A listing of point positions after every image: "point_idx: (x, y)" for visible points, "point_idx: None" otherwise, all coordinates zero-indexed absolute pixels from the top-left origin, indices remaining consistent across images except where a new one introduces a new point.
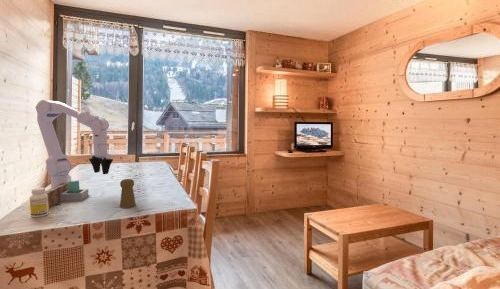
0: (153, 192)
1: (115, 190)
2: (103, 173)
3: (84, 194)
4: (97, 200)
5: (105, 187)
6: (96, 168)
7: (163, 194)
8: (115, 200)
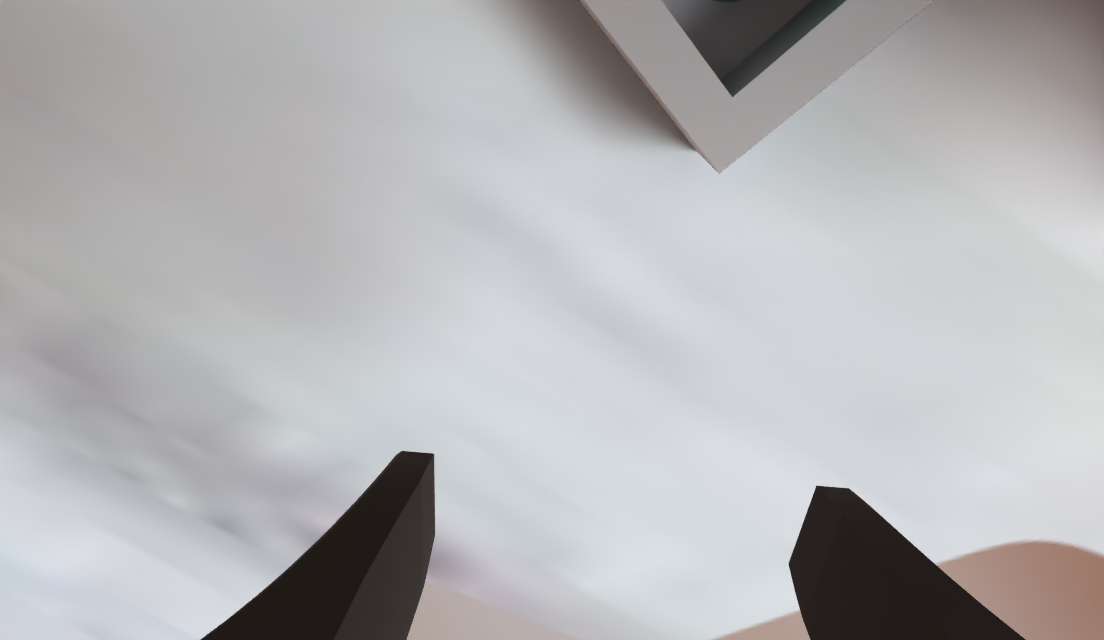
0: (182, 582)
1: (616, 476)
2: (399, 461)
3: (587, 7)
4: (286, 35)
5: None
6: (857, 606)
7: (27, 572)
8: (103, 174)
